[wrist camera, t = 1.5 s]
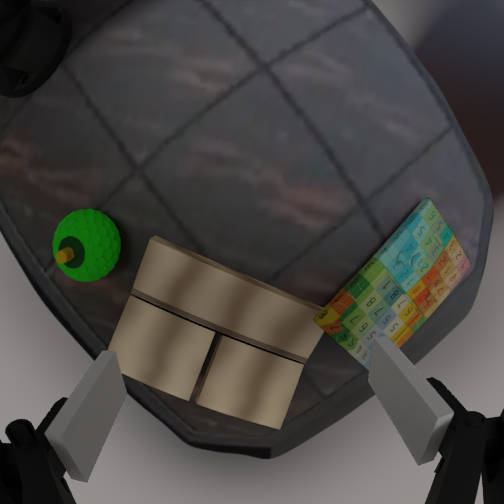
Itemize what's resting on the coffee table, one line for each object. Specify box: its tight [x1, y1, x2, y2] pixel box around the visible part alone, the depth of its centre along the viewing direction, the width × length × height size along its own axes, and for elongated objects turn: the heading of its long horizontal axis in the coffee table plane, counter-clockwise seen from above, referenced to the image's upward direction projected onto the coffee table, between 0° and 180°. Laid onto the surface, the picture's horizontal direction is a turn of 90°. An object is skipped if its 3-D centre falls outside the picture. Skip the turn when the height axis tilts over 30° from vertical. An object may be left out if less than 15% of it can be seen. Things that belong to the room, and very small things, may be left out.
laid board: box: [131, 235, 324, 363], centre depth 37 cm, size 23×7×2 cm, turn 65°
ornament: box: [52, 209, 121, 282], centre depth 31 cm, size 8×8×10 cm
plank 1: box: [107, 295, 215, 401], centre depth 36 cm, size 11×9×2 cm
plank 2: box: [195, 335, 304, 429], centre depth 37 cm, size 11×9×2 cm
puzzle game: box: [313, 198, 471, 371], centre depth 36 cm, size 12×5×20 cm
